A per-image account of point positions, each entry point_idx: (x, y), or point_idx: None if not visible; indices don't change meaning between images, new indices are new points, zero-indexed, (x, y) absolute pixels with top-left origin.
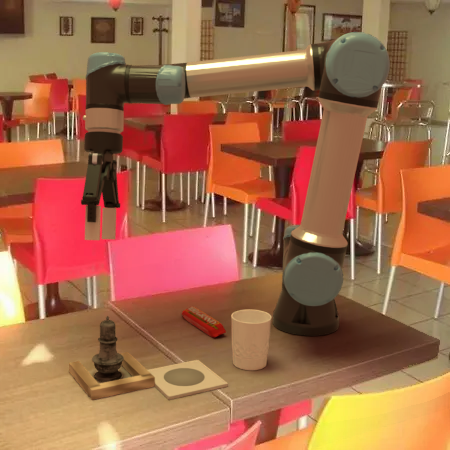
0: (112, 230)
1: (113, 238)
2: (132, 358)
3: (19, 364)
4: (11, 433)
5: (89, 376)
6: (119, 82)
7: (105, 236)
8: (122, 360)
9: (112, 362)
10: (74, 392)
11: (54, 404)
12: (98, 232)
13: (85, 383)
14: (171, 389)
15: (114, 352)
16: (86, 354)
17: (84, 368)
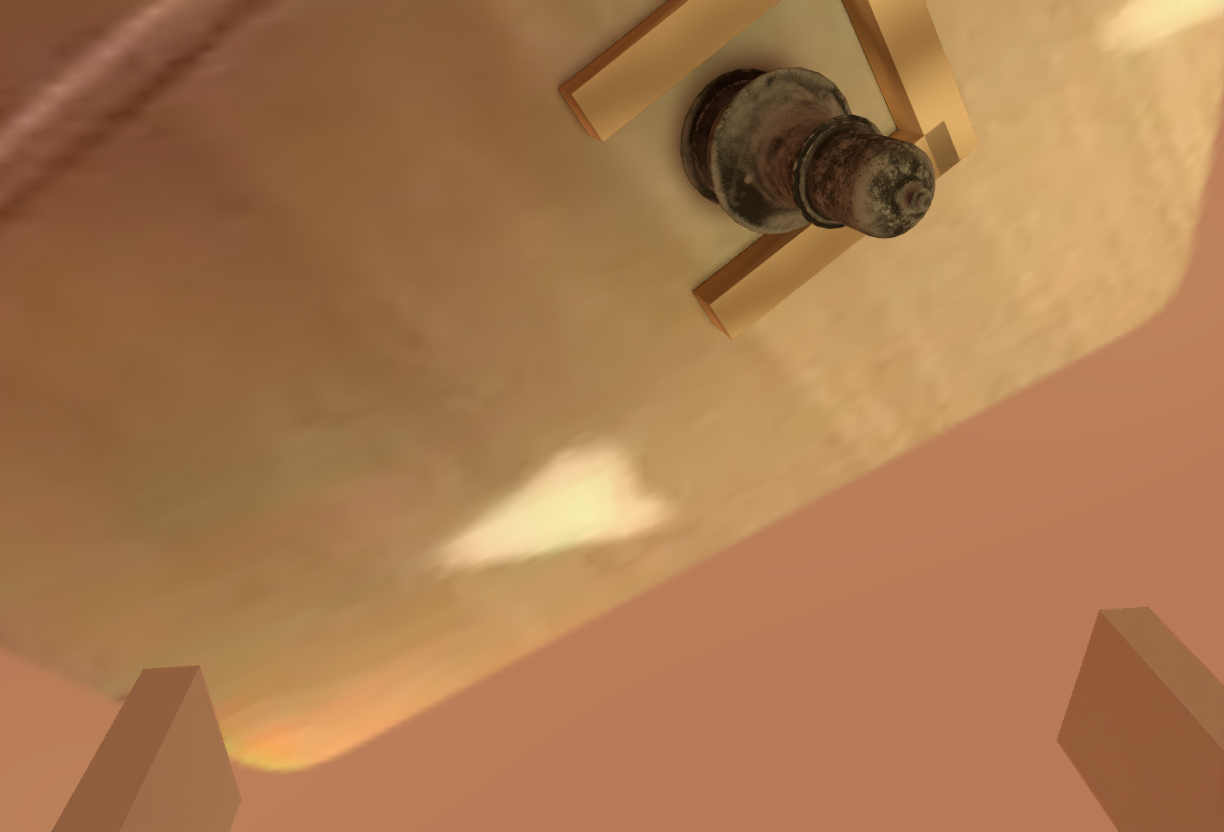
0: (153, 806)
1: (202, 687)
2: (654, 43)
3: (665, 530)
4: (1124, 316)
5: None
6: None
7: (214, 796)
8: (805, 69)
9: (840, 113)
10: None
11: (971, 267)
12: (1213, 686)
13: None
14: None
15: (827, 118)
16: (522, 323)
17: (782, 251)
